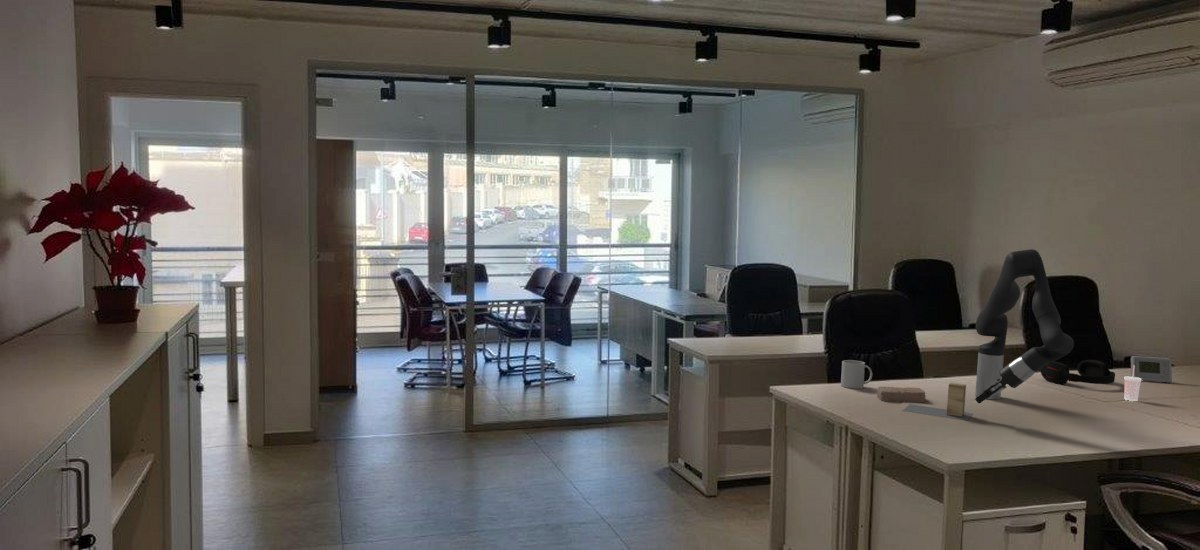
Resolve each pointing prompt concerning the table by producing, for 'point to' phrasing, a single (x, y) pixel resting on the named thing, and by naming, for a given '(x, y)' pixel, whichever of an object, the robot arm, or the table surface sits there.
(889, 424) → the table surface
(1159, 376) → the digital clock
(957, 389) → the oak block
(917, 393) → the brick
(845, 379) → the mug
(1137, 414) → the table surface
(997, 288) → the robot arm
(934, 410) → the mat
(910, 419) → the table surface
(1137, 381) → the beverage cup
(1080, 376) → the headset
